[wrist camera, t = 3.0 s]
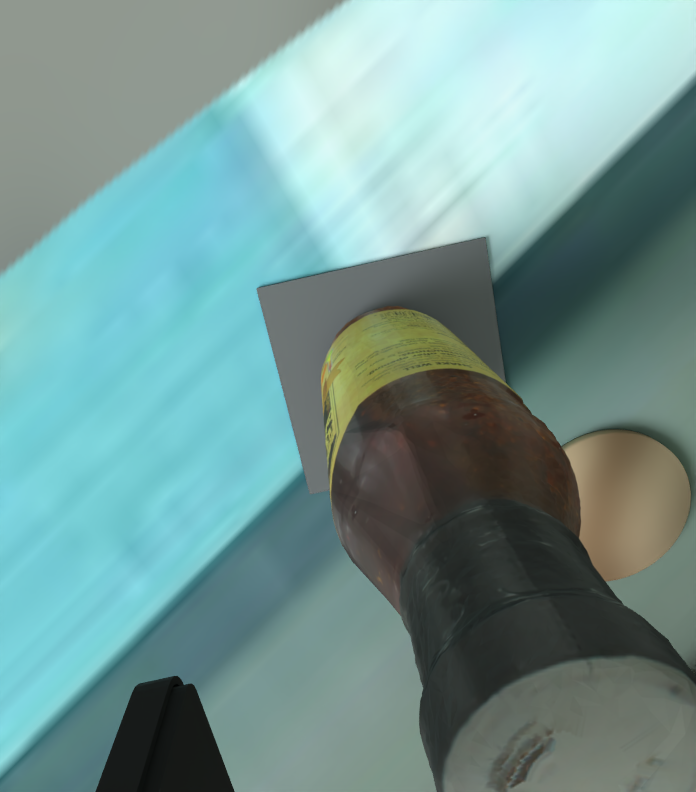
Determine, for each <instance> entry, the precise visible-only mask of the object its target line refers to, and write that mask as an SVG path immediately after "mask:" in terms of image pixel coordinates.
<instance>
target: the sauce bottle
mask: <svg viewBox="0 0 696 792" xmlns="http://www.w3.org/2000/svg"><path fill="white" fill-rule="evenodd" d="M321 392H322V405H323V417H324V428H325V439H326V440H325V447H326V456H327V462H328V480H329V487H330V499H331V507H332V514H333V520H334V524H335V527H336V531H337V533H338V536H339V539H340V541H341V544H342V546H343V547H344V549H345V550H346V552H347V554H348V555H349V557H350V558H351V560H352V562H353V563H354V564H355V565H356V566H357V567H358V568H359V569H360V570H361V571H362V572H363V574H364V575H365V576H366V577H367V578H368V579H369V580H370V581H371V582H372V583H373V584H374V586H375V587H376V588H377V589H378V590H379V591H380V592H381V593H382V594H383V595H384V596H385V598H386V599H387V600H388V601H389V602H390V603H391V605H392V606H393V607H394V608H395V609H396V611H397V612H398V613H399V614H400V616H401V618H402V620H403V623H404V625H405V627H406V629H407V631H408V633H409V634H410V636H411V641H412V645H413V650H414V654H415V662H416V665H417V668H418V671H419V674H420V680H421V682H422V685H423V692H422V697H421V701H420V712H419V726H420V734H421V738H422V742H423V745H424V749H425V752H426V755H427V758H428V761H429V765H430V768H431V770H432V773H433V777H434V781H435V785H436V790H437V792H696V676H695V675H694V674H693V672H692V671H691V670H690V668H689V667H688V666H687V664H686V663H685V661H684V660H683V659H682V658H681V657H680V655H679V654H678V653H677V652H676V650H675V649H674V648H673V646H672V645H671V643H670V642H669V640H668V639H667V638H666V637H664V636H663V635H662V634H661V633H659V632H658V631H657V630H656V629H655V628H654V627H653V626H652V625H651V624H650V623H648V622H647V621H646V620H645V619H644V618H643V617H641V616H640V615H639V614H637V613H636V612H634V611H633V610H631V609H629V608H628V607H626V606H624V605H623V603H622V602H621V601H620V600H619V599H618V598H617V597H616V595H615V594H614V593H613V591H612V590H611V589H610V587H609V586H608V585H607V583H606V582H605V580H604V579H603V578H602V576H601V575H600V574H599V572H598V571H597V570H596V568H595V567H594V566H593V564H592V562H591V559H590V557H589V554H588V552H587V550H586V549H585V547H584V545H583V544H582V542H581V541H580V539H579V536H580V528H581V506H580V497H579V490H578V484H577V481H576V477H575V473H574V471H573V469H572V466H571V463H570V460H569V458H568V457H567V455H566V453H565V451H564V450H563V449H562V447H561V446H560V444H559V442H558V441H557V440H556V438H555V436H554V435H553V433H552V432H551V431H550V430H549V429H548V428H547V426H546V425H545V423H544V422H542V421H541V420H539V419H538V418H537V417H535V416H534V415H532V413H531V412H530V410H529V409H528V408H527V407H526V405H524V404H523V400H522V398H521V397H520V396H519V395H518V394H517V393H516V392H515V391H513V390H512V389H511V388H510V387H509V386H508V385H507V384H506V383H505V382H504V381H503V380H502V379H501V378H500V377H499V376H498V375H497V374H496V373H495V372H493V371H492V370H491V369H490V368H489V367H488V366H487V365H486V364H485V363H484V362H483V361H482V360H481V359H480V358H479V357H478V356H477V355H476V354H475V353H474V352H473V351H471V350H470V349H469V348H468V347H467V346H466V345H465V344H464V343H463V342H462V341H461V340H460V339H459V338H458V337H457V336H455V335H454V334H453V333H452V332H451V331H450V330H449V329H448V328H446V327H445V326H444V325H443V324H441V323H440V322H439V321H437V320H436V319H434V318H432V317H430V316H428V315H426V314H423V313H420V312H418V311H415V310H409V309H407V308H403V307H400V306H386V307H383V308H378V309H375V310H373V311H369V312H366V313H364V314H362V315H359V316H357V317H356V318H354V319H353V320H351V321H349V322H348V323H346V324H345V326H344V327H343V328H342V329H341V330H340V331H339V332H338V333H337V334H336V337H335V339H334V341H333V342H332V345H331V347H330V349H329V351H328V353H327V356H326V359H325V361H324V364H323V367H322V371H321Z"/></svg>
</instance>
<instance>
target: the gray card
mask: <svg viewBox="0 0 696 792" xmlns="http://www.w3.org/2000/svg"><path fill="white" fill-rule="evenodd" d="M257 292H258V296H259V300H260V304H261V308H262V312H263V316H264V319H265V323H266V327H267V331H268V335H269V339H270V343H271V346H272V350H273V354H274V358H275V362H276V366H277V369H278V373H279V377H280V381H281V385H282V389H283V393H284V396H285V400H286V404H287V408H288V412H289V416H290V420H291V423H292V427H293V431H294V435H295V439H296V443H297V446H298V450H299V454H300V458H301V462H302V466H303V470H304V473H305V477H306V481H307V485H308V489H309V493H310V494H314V493H319V492H323V491H328V490H330V487H329V480H328V462H327V456H326V447H325V440H326V439H325V428H324V417H323V405H322V392H321V371H322V367H323V364H324V361H325V359H326V356H327V353H328V351H329V349H330V347H331V345H332V342H333V341H334V339H335V337H336V334H337V333H338V332H339V331H340V330H341V329H342V328H343V327H344V326H345V324H346V323H348V322H349V321H351V320H353V319H354V318H356V317H357V316H359V315H362V314H364V313H366V312H369V311H373V310H375V309H378V308H383V307H386V306H400V307H403V308H407V309H409V310H415V311H418V312H420V313H423V314H426V315H428V316H430V317H432V318H434V319H436V320H437V321H439V322H440V323H441V324H443V325H444V326H445V327H446V328H448V329H449V330H450V331H451V332H452V333H453V334H454V335H455V336H457V337H458V338H459V339H460V340H461V341H462V342H463V343H464V344H465V345H466V346H467V347H468V348H469V349H470V350H471V351H473V352H474V353H475V354H476V355H477V356H478V357H479V358H480V359H481V360H482V361H483V362H484V363H485V364H486V365H487V366H488V367H489V368H490V369H491V370H492V371H493V372H495V373H496V374H497V375H498V376H499V377H500V378H501V379H502V380H503V381H504V382H505V383H506V381H505V374H504V366H503V359H502V352H501V345H500V338H499V331H498V324H497V317H496V309H495V302H494V295H493V288H492V281H491V274H490V267H489V260H488V252H487V245H486V238H485V237H484V238H479V239H475V240H470V241H466V242H461V243H457V244H452V245H448V246H443V247H439V248H434V249H430V250H426V251H421V252H417V253H412V254H408V255H403V256H399V257H394V258H390V259H385V260H381V261H376V262H372V263H367V264H363V265H358V266H354V267H349V268H345V269H340V270H336V271H331V272H327V273H323V274H318V275H314V276H309V277H305V278H300V279H296V280H291V281H287V282H282V283H278V284H273V285H269V286H264V287H260V288H257Z"/></svg>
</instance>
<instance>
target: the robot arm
mask: <svg viewBox="0 0 696 792" xmlns="http://www.w3.org/2000/svg"><path fill="white" fill-rule="evenodd" d="M96 792H234V789H233V786H232V784H231V781H230V778H229V776H228V773H227V770H226V768H225V765H224V762H223V760H222V757H221V754H220V752H219V749H218V746H217V744H216V741H215V738H214V736H213V733H212V730H211V728H210V725H209V722H208V720H207V717H206V714H205V712H204V709H203V706H202V704H201V701H200V698H199V696H198V693H197V690H196V688H195V686H194V685H193V684H186V685H184V684H183V682H182V680H181V679H180V678H179V677H178V676H173V677H168V678H163V679H159V680H154V681H149V682H145V683H140V684H138V685H137V686H136V687H135V688H134V690H133V692H132V695H131V697H130V700H129V703H128V705H127V708H126V711H125V714H124V716H123V719H122V722H121V724H120V727H119V730H118V732H117V735H116V738H115V741H114V743H113V746H112V749H111V751H110V754H109V757H108V759H107V762H106V765H105V768H104V770H103V773H102V776H101V778H100V781H99V784H98V786H97V789H96Z"/></svg>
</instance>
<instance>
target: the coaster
mask: <svg viewBox="0 0 696 792" xmlns="http://www.w3.org/2000/svg"><path fill="white" fill-rule="evenodd" d="M562 449H563V450H564V451H565V453H566V455H567V457H568V458H569V460H570V463H571V466H572V469H573V471H574V473H575V477H576V481H577V484H578V490H579V497H580V506H581V528H580V536H579V539H580V541H581V542H582V544H583V545H584V547H585V549H586V550H587V552H588V554H589V557H590V559H591V562H592V564H593V566H594V567H595V568H596V570H597V571H598V572H599V574H600V575H601V576H602V578H603V579H604V580H605V581H612V580H617V579H621V578H625V577H628V576H630V575H633V574H635V573H638V572H639V571H641V570H643V569H645V568H647V567H648V566H650V565H651V564H653V563H654V562H656V561H657V560H658V559H659V558H661V557H662V556H663V555H664V554H665V553H666V552H667V551H668V550H669V549H670V548H671V546H672V545H673V544H674V543H675V541H676V540H677V538H678V537H679V535H680V533H681V532H682V530H683V528H684V525H685V523H686V520H687V517H688V514H689V509H690V503H691V491H690V483H689V480H688V476H687V474H686V472H685V469H684V467H683V465H682V464H681V462H680V461H679V460H678V458H677V457H676V456H675V455H674V454H673V453H672V452H671V451H670V450H669V449H667V448H666V447H665V446H663V445H662V444H661V443H659V442H658V441H656V440H654V439H652V438H651V437H649V436H646V435H644V434H641V433H638V432H634V431H630V430H621V429H611V430H602V431H596V432H592V433H589V434H585V435H583V436H581V437H578V438H576V439H574V440H572V441H570V442H568V443H567V444H565V445H564V446H562Z"/></svg>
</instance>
